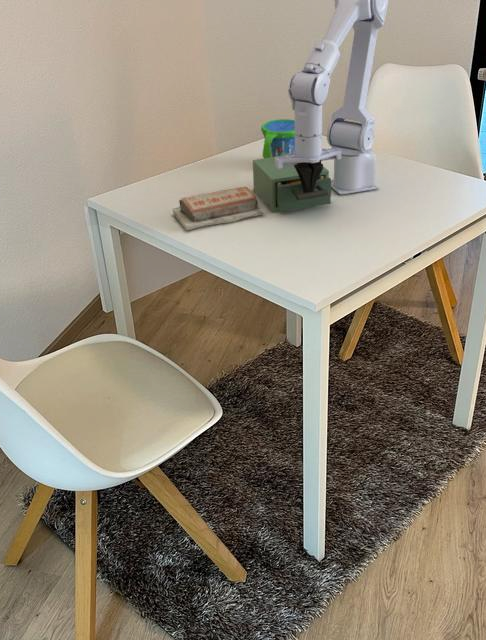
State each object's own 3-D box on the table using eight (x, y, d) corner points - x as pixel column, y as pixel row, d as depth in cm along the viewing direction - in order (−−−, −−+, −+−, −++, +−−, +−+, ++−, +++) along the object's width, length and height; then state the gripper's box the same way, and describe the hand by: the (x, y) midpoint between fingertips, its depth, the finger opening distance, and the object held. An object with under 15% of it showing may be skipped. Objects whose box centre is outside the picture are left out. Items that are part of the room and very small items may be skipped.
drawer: (339, 211, 161) (339, 186, 157) (286, 220, 158) (286, 195, 154) (310, 184, 174) (310, 161, 171) (261, 192, 171) (260, 168, 168)
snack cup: (280, 177, 181) (279, 137, 175) (248, 169, 186) (246, 129, 181) (317, 160, 191) (317, 120, 185) (285, 152, 196) (285, 114, 191)
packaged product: (244, 180, 167) (262, 195, 159) (245, 200, 169) (262, 216, 162) (169, 194, 161) (184, 210, 153) (172, 215, 163) (186, 232, 156)
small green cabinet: (328, 202, 167) (328, 170, 163) (272, 212, 164) (271, 179, 159) (306, 182, 178) (306, 152, 173) (253, 190, 174) (252, 159, 170)
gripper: (282, 143, 147) (283, 206, 154) (348, 134, 151) (345, 196, 158) (270, 133, 152) (272, 194, 160) (334, 124, 156) (332, 185, 164)
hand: (308, 194), depth 159 cm, fingers closed, pressing on drawer
